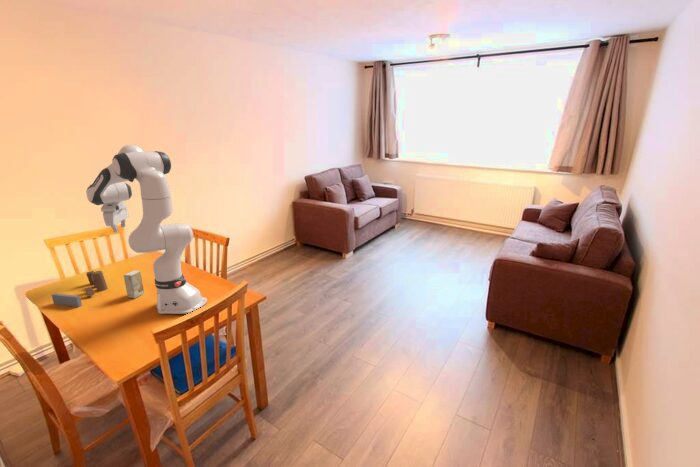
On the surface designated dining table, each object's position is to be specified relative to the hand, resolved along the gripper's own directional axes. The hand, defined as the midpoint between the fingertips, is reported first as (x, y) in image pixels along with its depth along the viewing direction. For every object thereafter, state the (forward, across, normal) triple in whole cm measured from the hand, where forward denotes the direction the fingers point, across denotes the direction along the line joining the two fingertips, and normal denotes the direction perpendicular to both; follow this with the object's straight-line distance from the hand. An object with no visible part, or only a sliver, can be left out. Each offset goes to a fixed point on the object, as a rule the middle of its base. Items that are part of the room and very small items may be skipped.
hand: (119, 229), depth 182 cm
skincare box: (+27, +28, +13) cm, 41 cm away
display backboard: (+27, +32, -14) cm, 44 cm away
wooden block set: (+27, +17, -8) cm, 33 cm away
